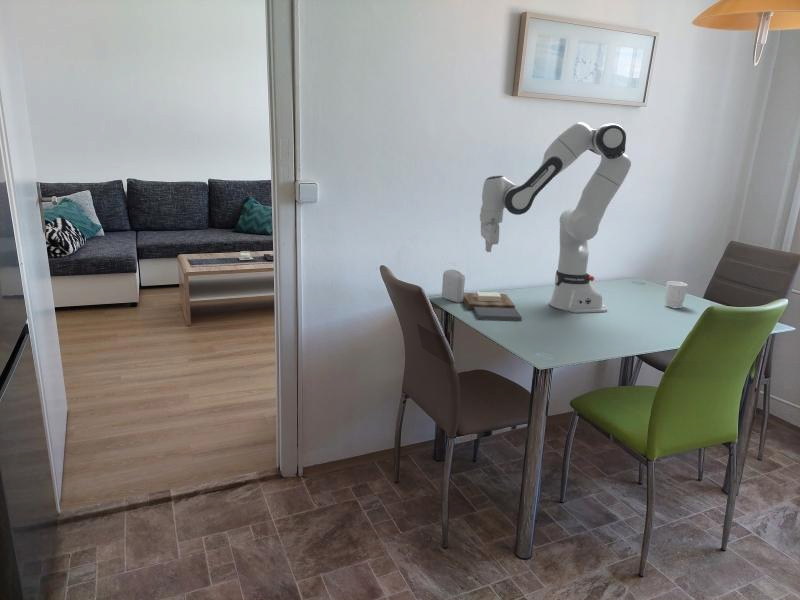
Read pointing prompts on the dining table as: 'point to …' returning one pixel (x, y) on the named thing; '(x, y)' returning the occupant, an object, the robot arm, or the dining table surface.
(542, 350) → the dining table surface
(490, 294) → the cream card
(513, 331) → the dining table surface
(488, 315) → the charcoal mat
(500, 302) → the walnut deck
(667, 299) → the white cup
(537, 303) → the dining table surface
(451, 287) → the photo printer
